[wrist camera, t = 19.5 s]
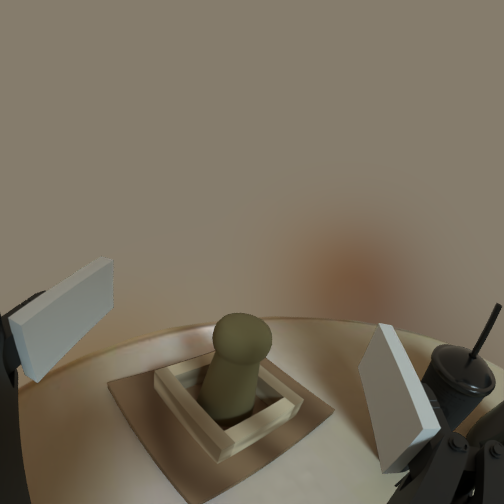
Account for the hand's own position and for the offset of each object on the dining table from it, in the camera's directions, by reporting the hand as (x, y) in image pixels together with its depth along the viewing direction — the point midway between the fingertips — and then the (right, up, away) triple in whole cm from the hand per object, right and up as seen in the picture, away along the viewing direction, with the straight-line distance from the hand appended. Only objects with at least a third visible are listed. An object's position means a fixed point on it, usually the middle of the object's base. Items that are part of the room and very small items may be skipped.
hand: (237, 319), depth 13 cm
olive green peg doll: (-2, -13, +15) cm, 20 cm away
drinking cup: (+17, -20, +11) cm, 28 cm away
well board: (-2, -14, +15) cm, 21 cm away
